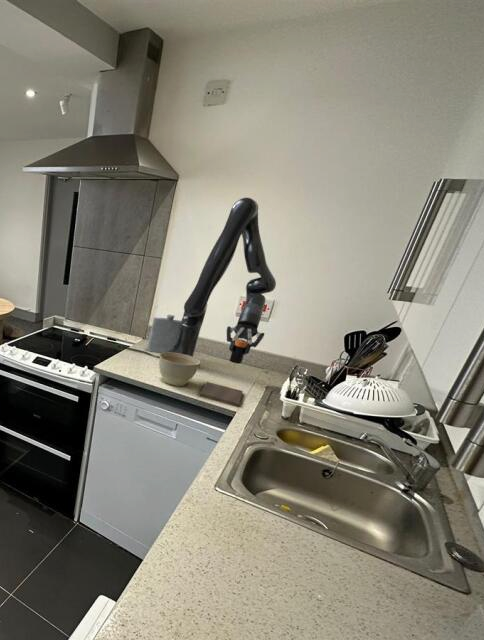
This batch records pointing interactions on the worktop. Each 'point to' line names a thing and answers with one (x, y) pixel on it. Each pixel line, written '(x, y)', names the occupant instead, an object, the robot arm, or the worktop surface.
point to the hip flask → (163, 334)
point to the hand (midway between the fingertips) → (238, 352)
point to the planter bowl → (177, 368)
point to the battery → (238, 351)
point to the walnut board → (221, 393)
